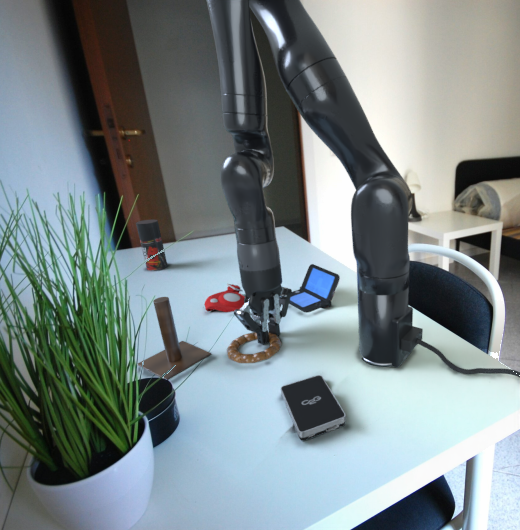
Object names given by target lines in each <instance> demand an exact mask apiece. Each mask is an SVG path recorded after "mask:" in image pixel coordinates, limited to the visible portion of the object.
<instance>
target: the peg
mask: <svg viewBox="0 0 520 530" xmlns="http://www.w3.org/2000/svg"><path fill="white" fill-rule="evenodd" d="M153 306H154V310H155V313H156V319H157V323H158V327H159V331H160V334H161V338H162V339H161V340H162V343H163V346H164V349H163V350H160V351H159V352H157V353H155V354H153V355H151V356H150V357H148V358H146V359H144V360H142V361H140V362H138V363H137V364H138V365H137V366H138V367H140V368H142V362H143V361H144V365H143V368H142V369H144V370H145V371H147V372H150V373H152V374H153V375H155V376H157V377H159V378H161V377H162V375H163V374H164V373H166V372H167V371H168V370H170V369H171V368H172V367H173V366H174V365H176V366H175V367H174V368H173V369H172V370H171V371H170V372H169V373H168V374H166V375H165V376H164V379H168V380H169V379H172V378H173V377H175V376H176V375H179V374H180V373H182V372H184V371H185V370H187V369H189V368H190V367H192V366H194V365H196V364H197V363H199V362H201V361H202V360H205V359H206V358H208V357H209V356H211V355H212V352H209V351H207V350H206V349H202V348H201V347H198V346H195V345H194V344H191V343H189V342H187V341H184V340H179V337H178V333H177V328H176V324H175V320H174V315H173V311H172V306H171V301H170V297H168V296H161V297H160V296H159V297H157V298H155V299H153ZM164 379H163V380H164Z"/></svg>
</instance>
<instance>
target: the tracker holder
mask: <svg viewBox="0 0 520 530" xmlns="http://www.w3.org/2000/svg"><path fill="white" fill-rule="evenodd" d="M226 286H227V288H226V290H224V291H219V292H216V293H214V294H211V295H209V296H207V298H206V299H205V300H204V304H203V305H204V308H205V309H204V310H206V312H213V311H215V310H216V311H219V312H223V313H231V312H234V311H235V310H236V309H239V310H240V309H241V307H242V306H243V305H244V304H245V303H244V298H245V295H243V294H242V293H240V292H243V289H241V286H240V285H238V284H233V283H232V284H230V283H226Z"/></svg>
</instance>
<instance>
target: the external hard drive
mask: <svg viewBox="0 0 520 530" xmlns="http://www.w3.org/2000/svg"><path fill="white" fill-rule="evenodd" d="M280 395H281V397H282V399H283V403H284V405H285V407H286V409H287V411H288V414H289V416H290V419H291V421H292V424H293V427H294V429H295V432H296V434H297V436H298V439H299V440H300V441H302V442H305V441H308V440H311V439H313V438H316V437H319V436H321V435H323V434H326V433H329V432H331V431H334V430H338V429H339V428H342V427H344V426H345V425H346V422H347V419H346V412H345V411H344V409H343V407H342V406H341V405H340V403H339V401H338V399H337V398H336V396H335V395H334V392H333V391H332V389H331V388H330V386H329V384H328V383H327V382H326V380H325V378H324V376H323V375H321V374H317V375H314V376H311V377H307V378H304V379H301V380H298V381H294V382H290V383H287V384H284V385H282V386H281V387H280Z"/></svg>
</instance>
